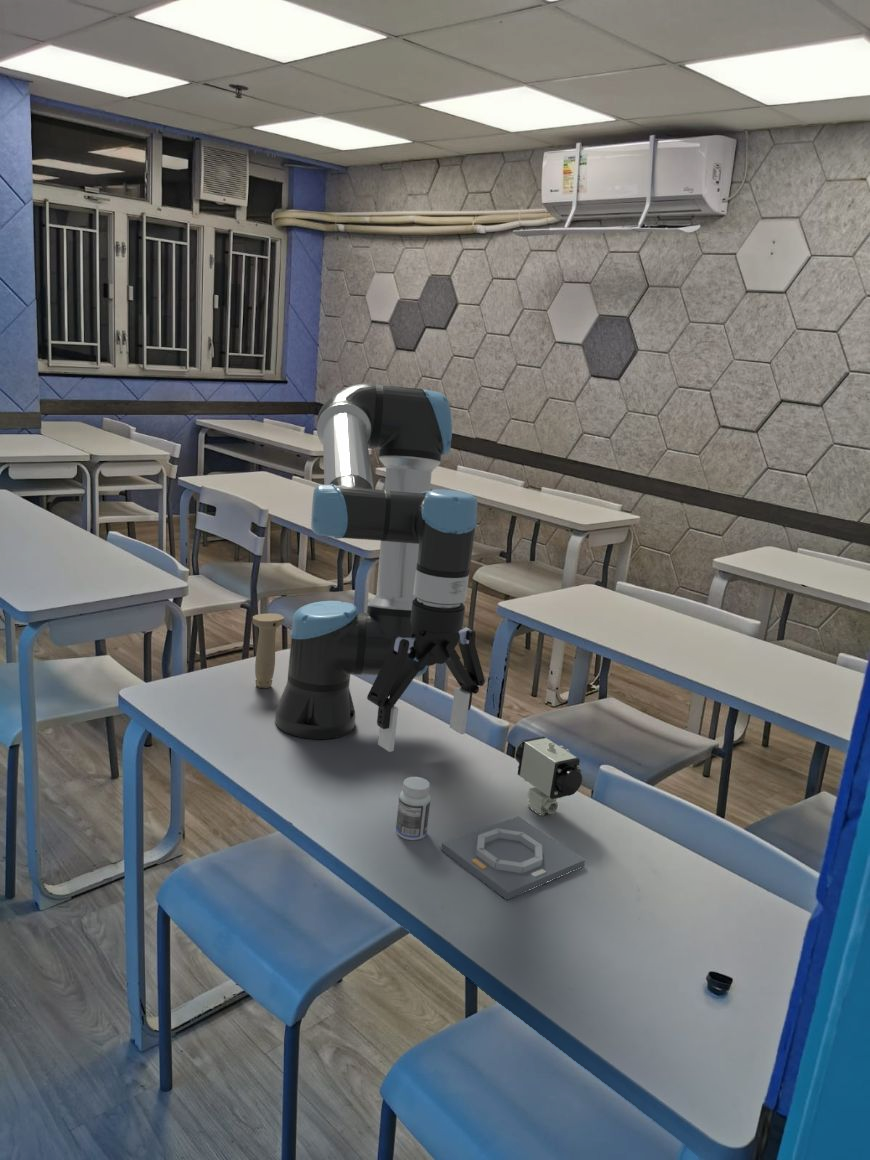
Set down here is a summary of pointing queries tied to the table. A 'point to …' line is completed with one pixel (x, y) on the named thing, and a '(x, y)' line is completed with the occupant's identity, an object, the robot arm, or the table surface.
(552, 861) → the slate board
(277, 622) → the handle
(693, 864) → the table surface
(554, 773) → the pneumatic valve
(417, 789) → the pill bottle
